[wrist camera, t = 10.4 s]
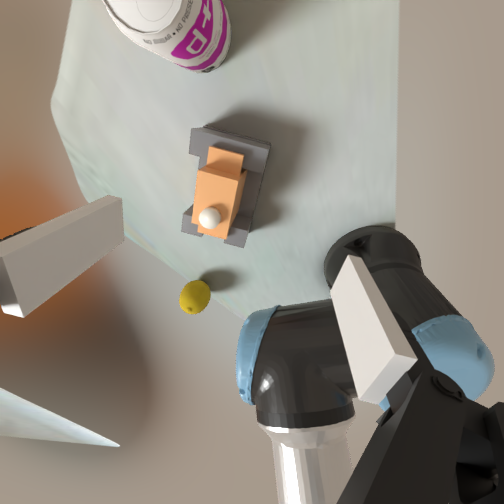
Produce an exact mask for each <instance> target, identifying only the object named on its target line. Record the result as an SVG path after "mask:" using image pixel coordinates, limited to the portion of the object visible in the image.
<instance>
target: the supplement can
mask: <svg viewBox="0 0 504 504" xmlns="http://www.w3.org/2000/svg"><path fill="white" fill-rule="evenodd" d="M102 1H103V3H104V4H105V6H106V8H107V11H108V13H109V14H110V16H111V17H112V19H113V20H114V22H115V23H116V25H117V26H118V28H119V29H120V31H121V32H122V33H124V34H125V35H126V36H127V37H129V38H130V39H131V40H132V41H133V42H135V43H136V44H137V45H139V46H141V47H143V48H145V49H147V50H149V51H151V52H153V53H155V54H157V55H159V56H161V57H163V58H165V59H167V60H169V61H171V62H173V63H175V64H177V65H179V66H181V67H183V68H185V69H187V70H190V71H193V72H196V73H208V72H210V71H212V70H214V69H215V68H217V67H219V65H220V64H221V63H222V61H223V60H224V59H225V57H226V55H227V52H228V49H229V47H230V44H231V24H230V20H229V15H228V12H227V10H226V8H225V6H224V4H223V2H222V0H102Z"/></svg>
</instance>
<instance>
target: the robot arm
mask: <svg viewBox="0 0 504 504" xmlns="http://www.w3.org/2000/svg"><path fill="white" fill-rule="evenodd" d="M123 241H124V228H123V210H122V198H119V197H115V196H111V195H107V196H105V197H103V198H100V199H98V200H96V201H94V202H91V203H89V204H87V205H84V206H82V207H80V208H77V209H75V210H73V211H71V212H68V213H66V214H64V215H61V216H59V217H57V218H55V219H52V220H50V221H48V222H45V223H43V224H41V225H38V226H35V227H30V228H26V229H24V230H21V231H19V232H17V233H14V234H13V235H9V236H7V237H5V238H3V240H2V239H0V304H1V307H2V309H3V311H4V313H7V314H11V315H15V316H19V317H25V316H26V315H28V314H29V313H30V312H32V311H33V310H34V309H36V308H37V307H38V306H40V305H41V304H42V303H43V302H45V301H46V300H47V299H49V298H50V297H51V296H53V295H54V294H55V293H57V292H58V291H59V290H60V289H62V288H63V287H64V286H66V285H67V284H68V283H69V282H71V281H72V280H73V279H75V278H76V277H77V276H79V275H80V274H81V273H83V272H84V271H85V270H87V269H88V268H89V267H91V266H92V265H93V264H95V263H96V262H97V261H98V260H100V259H101V258H102V257H104V256H105V255H106V254H107V253H109V252H110V251H111V250H112V249H114V248H115V247H117V246H118V245H119V244H120V243H122V242H123ZM324 273H325V277H326V281H327V284H328V286H329V288H330V290H331V291H330V294H331V297H332V299H326V300H320V301H313V302H307V303H301V304H295V305H288V306H280V305H277V306H275V307H273V308H269V309H264V310H259V311H256V312H254V313H252V314H251V315H250V316H249V317H248V318H247V319H246V321H245V322H244V325H243V327H242V329H241V332H240V336H239V340H238V346H237V354H236V377H237V378H236V379H237V385H238V387H239V389H240V390H239V394H240V396H241V398H242V400H243V401H244V402H246V403H249V404H250V405H256V412H257V422H258V425H259V426H260V427H261V428H262V429H263V430H264V431H265V432H266V433H267V434H268V435H269V436H270V438H271V439H272V446H273V454H274V464H275V474H276V484H277V493H278V502H279V504H504V403H502V402H498V403H496V404H495V405H493V406H492V407H491V408H489V409H488V408H486V407H484V406H482V405H480V404H478V403H476V402H474V401H475V400H476V399H477V398H478V397H479V396H481V395H482V394H483V393H484V391H485V390H486V389H487V387H488V386H489V384H490V382H491V380H492V378H493V374H494V360H493V357H492V354H491V352H490V350H489V349H488V347H487V346H486V345H485V343H484V342H483V341H482V339H481V338H480V337H479V335H478V334H477V333H476V331H475V330H474V328H473V326H472V324H471V323H470V322H469V321H468V320H467V319H465V318H464V317H463V316H462V315H461V314H460V313H459V312H458V311H457V310H456V309H455V308H454V307H453V305H451V303H450V302H449V301H448V300H447V299H446V298H445V297H444V296H443V295H442V293H441V292H440V291H439V290H438V289H437V288H436V287H435V286H434V285H433V284H432V283H431V282H430V280H429V279H428V278H427V277H426V276H425V275H424V273H423V270H422V268H421V260H420V255H419V253H418V251H417V249H416V247H415V246H414V245H413V243H412V242H411V241H410V240H409V239H408V238H407V237H406V236H405V235H403V234H402V233H400V232H399V231H396V230H394V229H392V228H388V227H382V226H370V227H364V228H360V229H357V230H354V231H352V232H350V233H348V234H346V235H344V236H343V237H341V238H340V239H339V240H338V241H337V242H336V243H335V244H334V245H333V246H332V247H331V249H330V250H329V252H328V254H327V256H326V259H325V262H324ZM356 397H358V398H359V400H362V401H365V402H370V403H373V404H379V406H380V407H381V408H382V410H384V411H385V412H384V413H383V415H382V416H381V417H380V418H379V419H378V420H377V421H376V422H377V423H378V424H379V425H378V427H377V428H376V430H375V432H374V434H373V436H372V438H371V440H370V441H369V443H368V445H367V447H366V449H365V451H364V453H363V455H362V456H361V458H360V460H359V462H358V464H357V466H356V468H355V470H354V471H353V468H352V463H351V458H350V453H349V448H348V443H347V439H346V433H347V430H348V428H349V427H350V426H351V424H352V422H353V421H354V419H355V417H356V415H355V411H354V407H353V402H352V398H356Z"/></svg>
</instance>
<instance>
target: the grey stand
mask: <svg viewBox="0 0 504 504" xmlns="http://www.w3.org/2000/svg"><path fill="white" fill-rule="evenodd" d="M209 146H214V147H218V148H222V149H225V150H229V151H233V152H236V153H240V154H244V160H243V165H242V168H244V169H247V174H246V179H245V183H244V188H243V192H242V197H241V201H240V206H239V210H238V212H237V214H236V217H235V219H234V221H233V223H232V225H231V227H230V229H229V232H228V237H227V239H225V240H224V243H226V244H230V245H234V246H237V247H241V248H244V246H245V243H246V239H247V236H248V233H249V229H250V225H251V221H252V217H253V213H254V209H255V205H256V201H257V197H258V193H259V190H260V186H261V182H262V178H263V174H264V170H265V166H266V162H267V158H268V154H269V150H270V146H271V143H267V142H263V141H260V140H256V139H252V138H249V137H245V136H241V135H238V134H234V133H230V132H227V131H223V130H219V129H216V128H212V127H208V126H203V127H202V128H193V129H191V136H190V146H189V154H192V155H195V156H199V157H200V159H199V167H198V170H199V169H200V168H202V167H204V166H205V165H207V158H208V150H209ZM193 205H194V204H193ZM193 205H192V206H191V207H190V208H189V209H188V210H187V211H185V212H184V213H183V219H182V229H181V232H184V233H188V234H192V235H196V236H200V237H202V235H203V233H199V232H197V231H198V225H197V224H194V223H191V222H192V214H193Z"/></svg>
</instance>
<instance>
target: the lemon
mask: <svg viewBox="0 0 504 504" xmlns="http://www.w3.org/2000/svg"><path fill="white" fill-rule="evenodd" d="M210 295H211V292H210V288H209V287H208V285H207V284H206V283H205V282H203V281H200V280H195V281H191V282H189V283H188V284H187V285H186V286H185V287H184V288H183V290H182V292H181V294H180V299H179V303H180V306H181V308H182V309H183V311H185V312H186V313H189V314H197V313H200V312H201V311H202V310H203V309H205V307H206V306H207V304H208V303H209V300H210Z"/></svg>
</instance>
